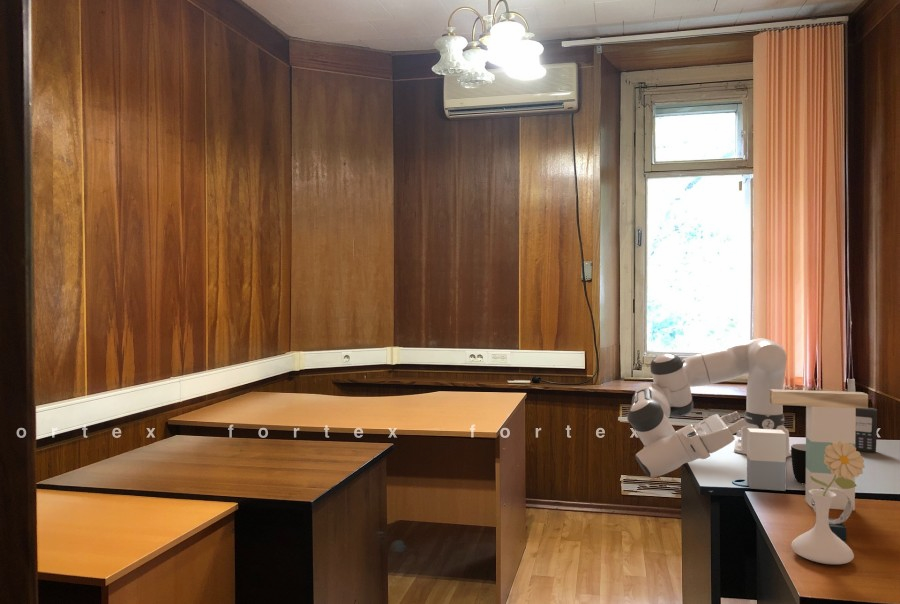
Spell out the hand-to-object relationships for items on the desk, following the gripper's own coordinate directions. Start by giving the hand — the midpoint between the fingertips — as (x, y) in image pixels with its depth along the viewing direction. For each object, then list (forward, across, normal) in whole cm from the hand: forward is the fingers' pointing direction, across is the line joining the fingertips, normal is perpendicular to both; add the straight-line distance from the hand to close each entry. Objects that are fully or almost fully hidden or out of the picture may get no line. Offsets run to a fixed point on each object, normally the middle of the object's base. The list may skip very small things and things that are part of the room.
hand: (742, 417), depth 172 cm
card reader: (+31, -65, -44) cm, 84 cm away
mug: (+7, -23, -30) cm, 38 cm away
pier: (-4, -13, -23) cm, 27 cm away
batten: (+18, 0, -6) cm, 19 cm away
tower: (+7, 0, -30) cm, 30 cm away
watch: (+2, +22, -27) cm, 35 cm away
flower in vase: (-2, +36, -24) cm, 44 cm away
